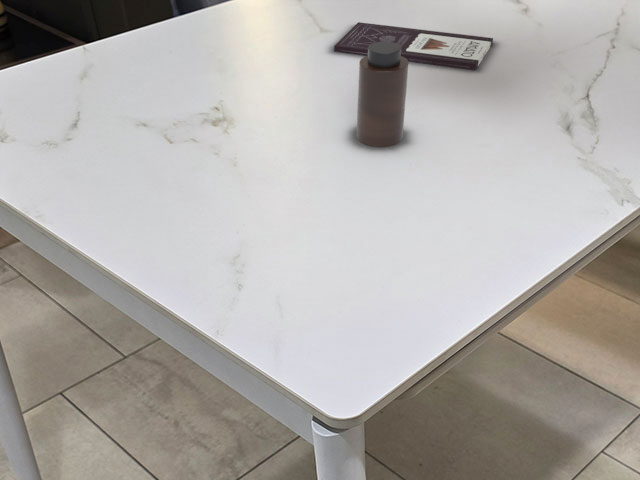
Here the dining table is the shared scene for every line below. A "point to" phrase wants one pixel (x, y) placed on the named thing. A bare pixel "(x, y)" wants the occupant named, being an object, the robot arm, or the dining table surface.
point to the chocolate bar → (419, 45)
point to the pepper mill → (382, 95)
